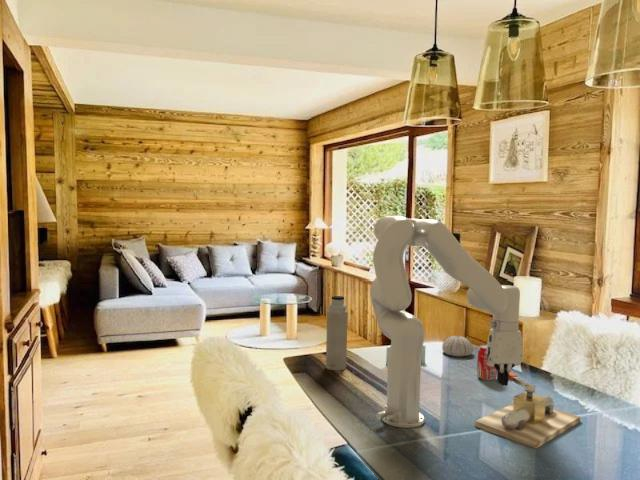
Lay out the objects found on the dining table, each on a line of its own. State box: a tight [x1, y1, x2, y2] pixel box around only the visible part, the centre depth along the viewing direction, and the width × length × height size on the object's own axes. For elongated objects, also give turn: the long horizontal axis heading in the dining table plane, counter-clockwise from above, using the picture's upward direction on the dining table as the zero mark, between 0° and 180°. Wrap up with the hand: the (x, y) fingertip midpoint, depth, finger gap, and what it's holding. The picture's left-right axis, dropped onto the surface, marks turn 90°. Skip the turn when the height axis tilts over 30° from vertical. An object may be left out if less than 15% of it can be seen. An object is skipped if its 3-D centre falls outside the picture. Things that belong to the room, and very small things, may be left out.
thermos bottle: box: [325, 295, 349, 371], centre depth 198 cm, size 8×8×28 cm
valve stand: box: [474, 391, 581, 450], centre depth 148 cm, size 28×18×9 cm, turn 131°
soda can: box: [476, 344, 497, 381], centre depth 189 cm, size 7×7×12 cm
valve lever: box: [508, 371, 536, 394], centre depth 154 cm, size 15×3×2 cm, turn 9°
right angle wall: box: [385, 344, 427, 366], centre depth 206 cm, size 12×12×8 cm
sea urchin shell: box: [442, 335, 474, 358], centre depth 222 cm, size 13×14×8 cm
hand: (502, 384), depth 157 cm, fingers closed
